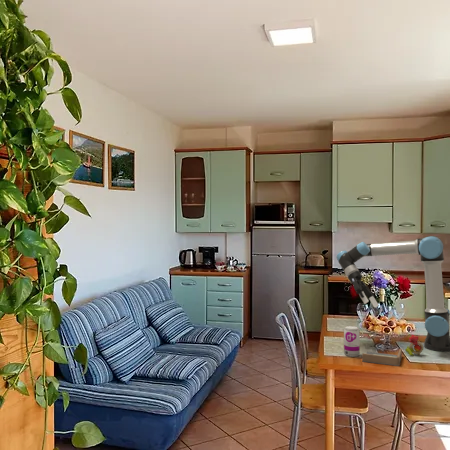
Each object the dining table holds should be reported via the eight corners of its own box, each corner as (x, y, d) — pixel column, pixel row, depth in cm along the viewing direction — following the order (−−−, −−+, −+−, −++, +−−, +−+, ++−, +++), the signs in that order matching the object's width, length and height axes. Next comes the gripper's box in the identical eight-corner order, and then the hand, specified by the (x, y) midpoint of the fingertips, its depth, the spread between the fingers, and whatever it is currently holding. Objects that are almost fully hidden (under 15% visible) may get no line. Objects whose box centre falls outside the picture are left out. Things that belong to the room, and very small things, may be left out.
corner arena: (401, 356, 242) (401, 349, 242) (399, 366, 226) (399, 358, 226) (367, 352, 250) (367, 345, 250) (362, 361, 234) (362, 353, 234)
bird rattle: (416, 356, 248) (401, 350, 248) (424, 338, 248) (409, 332, 248) (420, 360, 242) (405, 353, 242) (429, 341, 242) (413, 335, 242)
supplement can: (357, 357, 240) (357, 330, 240) (342, 355, 245) (342, 328, 244) (361, 354, 247) (361, 326, 247) (346, 351, 251) (346, 325, 251)
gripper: (357, 282, 274) (375, 311, 261) (338, 273, 256) (356, 304, 244) (367, 275, 271) (386, 304, 258) (349, 265, 254) (368, 296, 241)
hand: (371, 304), depth 251 cm, fingers open, 13 cm apart
